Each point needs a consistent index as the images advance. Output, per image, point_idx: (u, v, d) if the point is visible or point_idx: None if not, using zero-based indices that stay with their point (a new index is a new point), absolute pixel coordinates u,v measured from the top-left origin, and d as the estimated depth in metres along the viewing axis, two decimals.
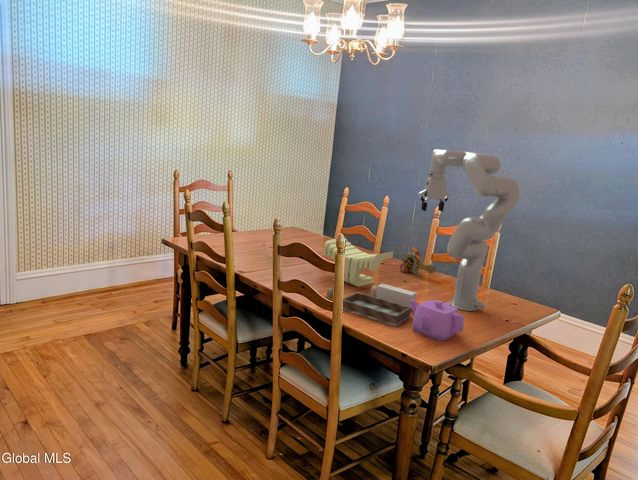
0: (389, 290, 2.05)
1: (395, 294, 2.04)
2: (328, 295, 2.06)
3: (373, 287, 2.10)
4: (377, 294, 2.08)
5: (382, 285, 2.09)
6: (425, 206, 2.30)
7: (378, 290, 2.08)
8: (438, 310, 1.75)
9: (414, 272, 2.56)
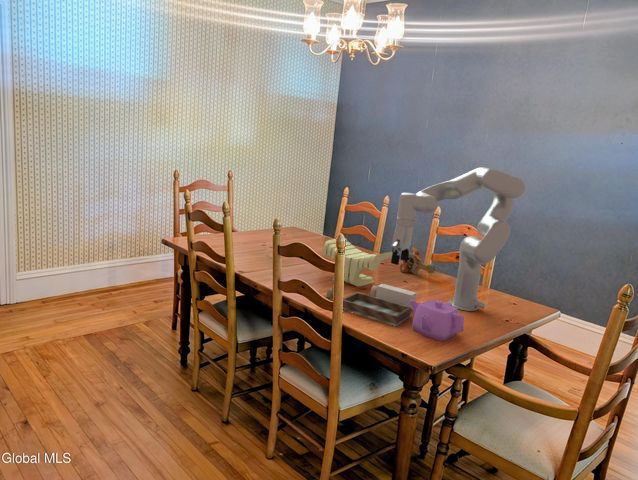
0: (389, 290, 2.05)
1: (395, 294, 2.04)
2: (328, 295, 2.06)
3: (373, 287, 2.10)
4: (377, 294, 2.08)
5: (382, 285, 2.09)
6: None
7: (378, 290, 2.08)
8: (438, 310, 1.75)
9: (414, 272, 2.56)
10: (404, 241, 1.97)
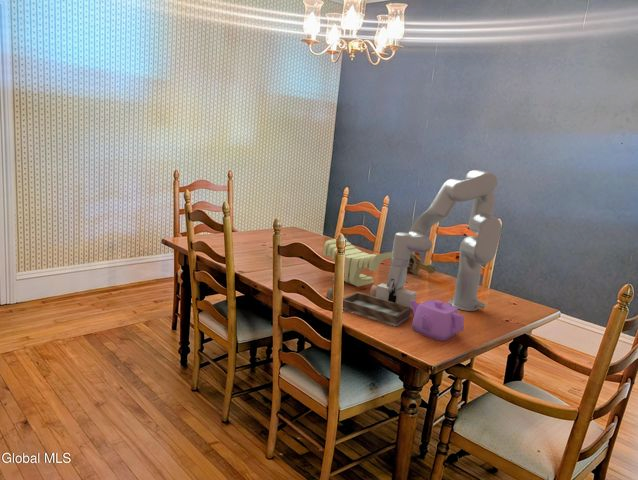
0: None
1: None
2: (328, 295, 2.06)
3: (373, 287, 2.10)
4: (377, 294, 2.08)
5: (382, 285, 2.09)
6: None
7: (378, 290, 2.08)
8: (438, 310, 1.75)
9: (414, 272, 2.56)
10: (399, 280, 2.01)
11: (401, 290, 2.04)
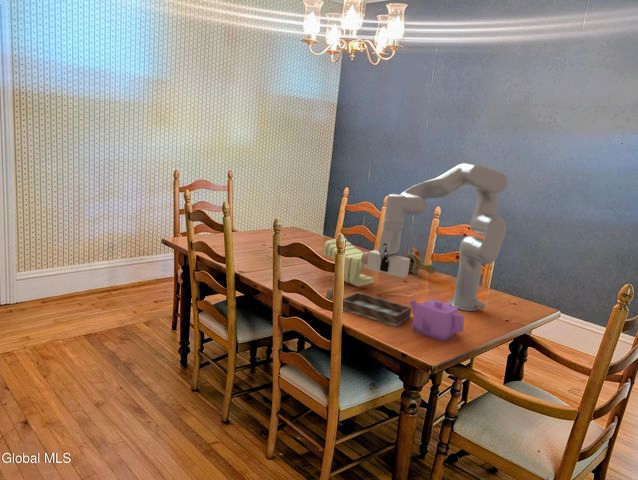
0: None
1: (388, 260, 1.90)
2: (328, 295, 2.06)
3: (364, 253, 1.97)
4: (368, 261, 1.95)
5: (374, 251, 1.96)
6: None
7: (370, 256, 1.94)
8: (438, 310, 1.75)
9: (414, 272, 2.55)
10: (392, 245, 1.87)
11: (394, 256, 1.91)
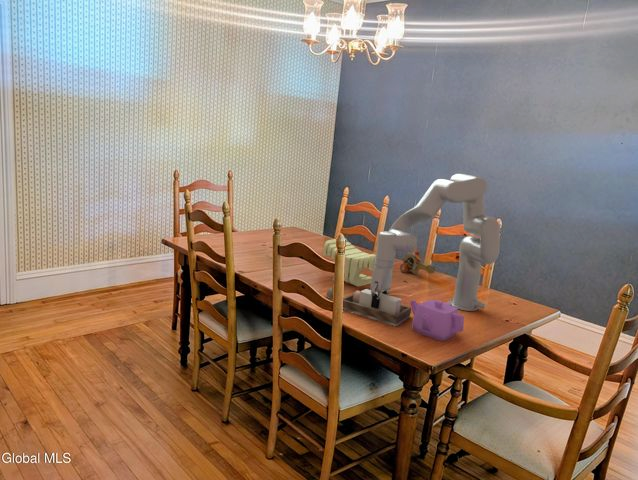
0: None
1: None
2: (328, 295, 2.06)
3: (356, 293, 1.97)
4: (360, 300, 1.95)
5: (366, 291, 1.96)
6: None
7: (361, 296, 1.95)
8: (438, 310, 1.75)
9: (414, 272, 2.55)
10: (383, 283, 1.87)
11: (385, 296, 1.91)
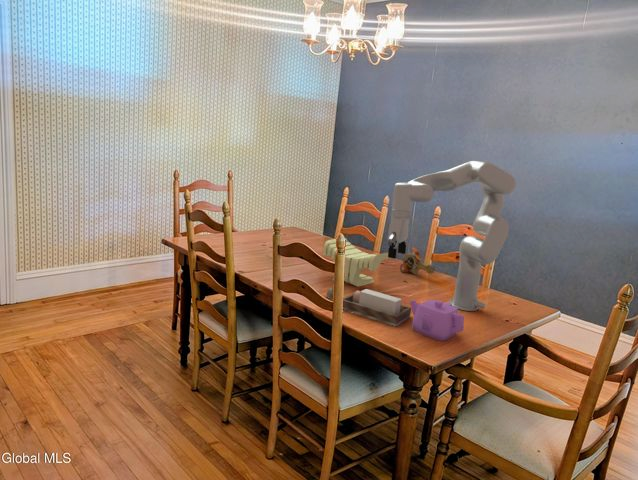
0: (373, 296, 1.92)
1: (379, 301, 1.90)
2: (328, 295, 2.06)
3: (356, 293, 1.97)
4: (360, 300, 1.95)
5: (366, 291, 1.96)
6: None
7: (361, 296, 1.95)
8: (438, 310, 1.75)
9: (414, 272, 2.55)
10: (401, 233, 1.89)
11: (385, 296, 1.91)
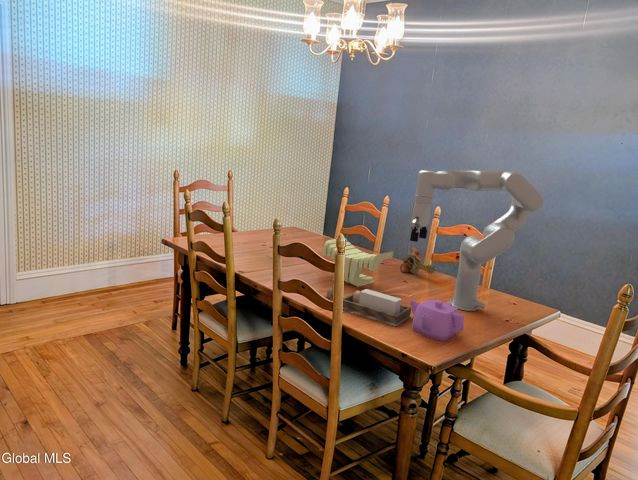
0: (373, 296, 1.92)
1: (379, 301, 1.90)
2: (328, 295, 2.06)
3: (356, 293, 1.97)
4: (360, 300, 1.95)
5: (366, 291, 1.96)
6: (420, 232, 2.10)
7: (361, 296, 1.95)
8: (438, 310, 1.75)
9: (414, 272, 2.55)
10: (423, 218, 2.00)
11: (385, 296, 1.91)
